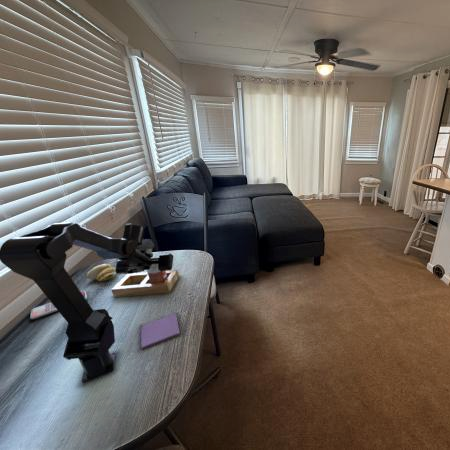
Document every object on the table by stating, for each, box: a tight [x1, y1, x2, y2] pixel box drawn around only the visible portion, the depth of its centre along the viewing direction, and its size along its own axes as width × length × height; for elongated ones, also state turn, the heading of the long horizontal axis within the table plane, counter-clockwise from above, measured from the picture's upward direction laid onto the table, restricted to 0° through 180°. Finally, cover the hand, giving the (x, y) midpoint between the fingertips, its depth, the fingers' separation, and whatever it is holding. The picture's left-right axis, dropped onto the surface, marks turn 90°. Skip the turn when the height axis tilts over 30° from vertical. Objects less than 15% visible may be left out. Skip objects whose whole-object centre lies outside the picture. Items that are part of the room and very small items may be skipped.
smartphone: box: [29, 290, 88, 320], centre depth 88 cm, size 7×1×15 cm
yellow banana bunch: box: [86, 263, 117, 282], centre depth 104 cm, size 10×6×15 cm
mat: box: [140, 313, 180, 349], centre depth 75 cm, size 10×10×1 cm
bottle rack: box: [110, 269, 180, 298], centre depth 97 cm, size 11×20×4 cm, turn 97°
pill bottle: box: [146, 260, 167, 283], centre depth 97 cm, size 6×6×11 cm
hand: (156, 268), depth 96 cm, fingers open, 9 cm apart
